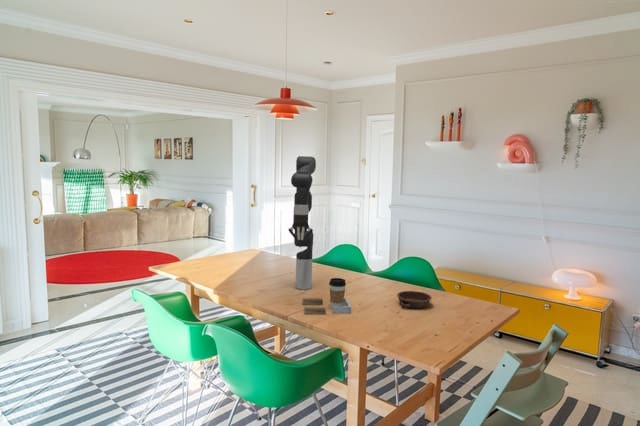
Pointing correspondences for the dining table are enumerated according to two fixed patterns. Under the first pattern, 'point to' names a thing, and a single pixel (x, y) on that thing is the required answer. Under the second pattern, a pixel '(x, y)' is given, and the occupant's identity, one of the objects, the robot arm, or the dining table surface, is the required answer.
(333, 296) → the coffee cup
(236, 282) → the dining table surface
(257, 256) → the dining table surface
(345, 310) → the corral
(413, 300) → the dish
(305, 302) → the clamp blocks
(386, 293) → the dining table surface
